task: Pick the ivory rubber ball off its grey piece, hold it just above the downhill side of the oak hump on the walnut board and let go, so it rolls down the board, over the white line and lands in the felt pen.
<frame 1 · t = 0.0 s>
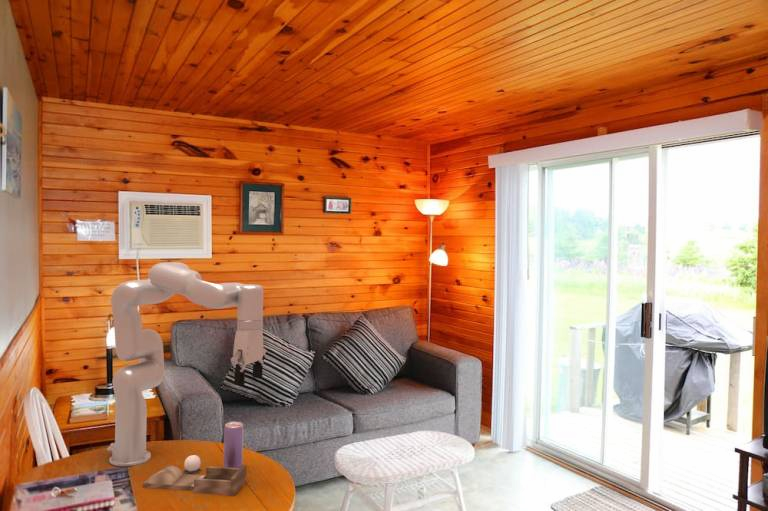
hand: (248, 381, 174), 31 cm above the table, tool pointing down, fingers open, 9 cm apart
grey piece: (192, 471, 182), on the table
ball: (192, 471, 182), on the table, touching grey piece
beverage can: (232, 471, 183), on the table
lane: (194, 485, 172), on the table
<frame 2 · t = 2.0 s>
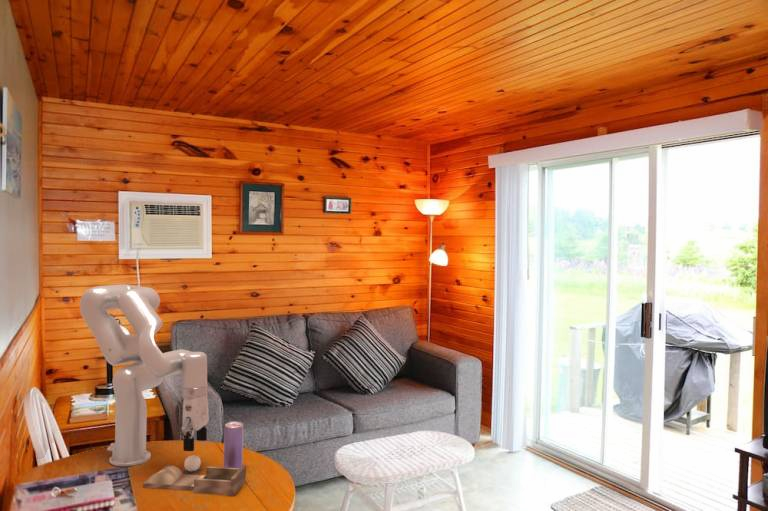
hand: (195, 445, 181), 9 cm above the table, tool pointing down, fingers open, 9 cm apart
nothing on the table moved.
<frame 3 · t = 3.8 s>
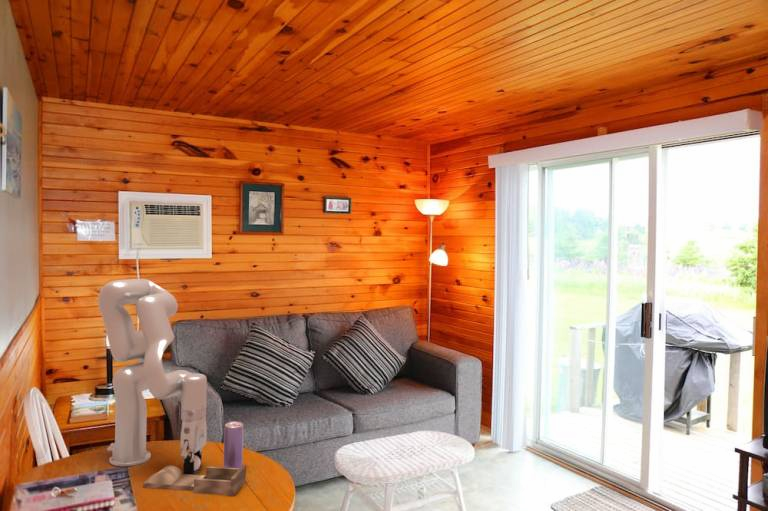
hand: (192, 469, 182), 1 cm above the table, tool pointing down, fingers closed on ball, grey piece, 5 cm apart
ball: (192, 471, 182), on the table, touching gripper
everything else where it was.
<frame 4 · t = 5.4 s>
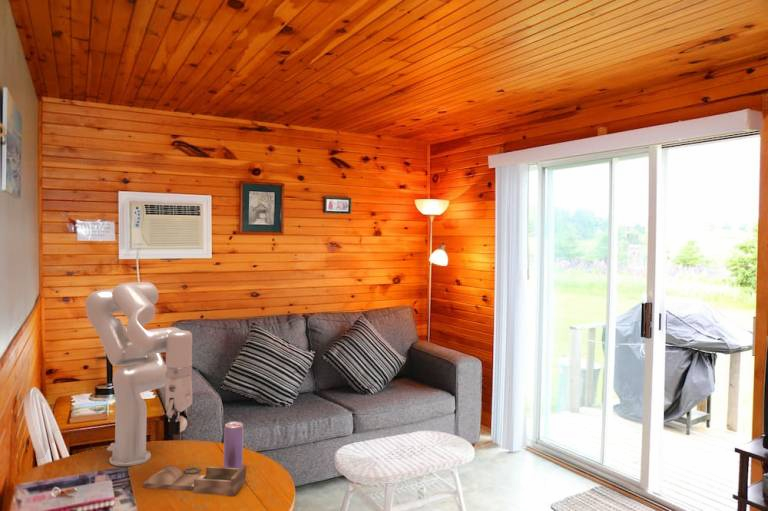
hand: (178, 430, 174), 16 cm above the table, tool pointing down, fingers closed on ball, 4 cm apart
ball: (178, 432, 174), point 15 cm above the table, touching gripper
everything else where it was.
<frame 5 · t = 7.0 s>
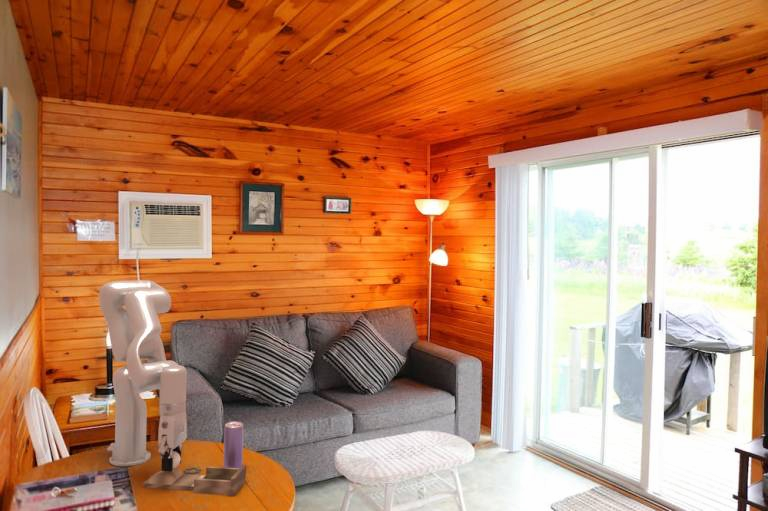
hand: (171, 466, 172), 5 cm above the table, tool pointing down, fingers closed on ball, 4 cm apart
ball: (171, 468, 172), point 5 cm above the table, touching gripper
everything else where it was.
when the fingers open (5 cm above the table, at t = 7.5 s): ball drops 3 cm and tips over, resting on lane.
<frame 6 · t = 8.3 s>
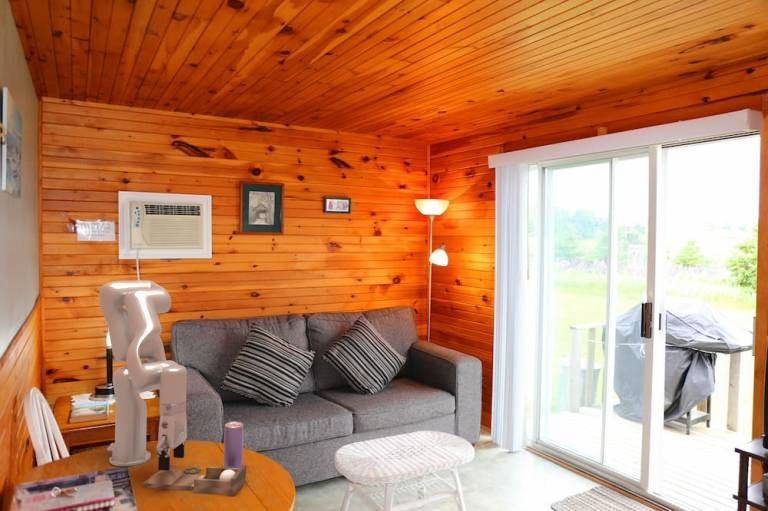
hand: (171, 463, 172), 6 cm above the table, tool pointing down, fingers open, 9 cm apart
ball: (220, 480, 171), point 2 cm above the table, tilted 69°, touching lane
everything else where it was.
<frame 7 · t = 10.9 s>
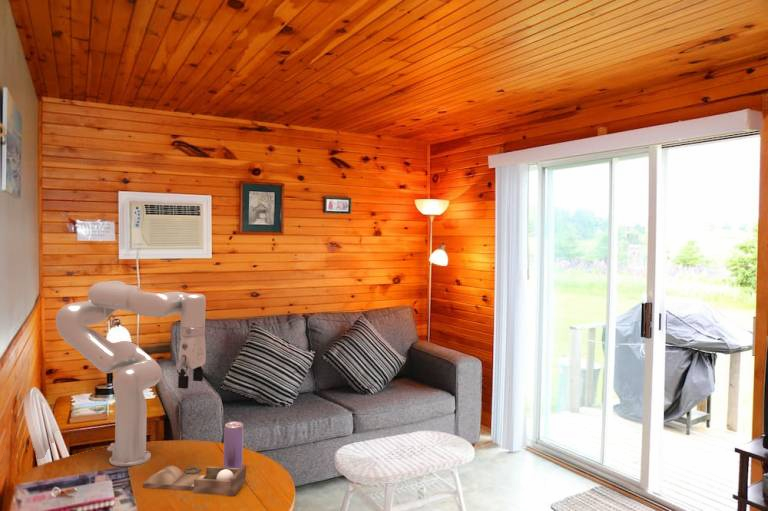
hand: (190, 384, 185), 27 cm above the table, tool pointing down, fingers open, 9 cm apart
ball: (219, 483, 171), point 1 cm above the table, tilted 48°, touching lane
everything else where it was.
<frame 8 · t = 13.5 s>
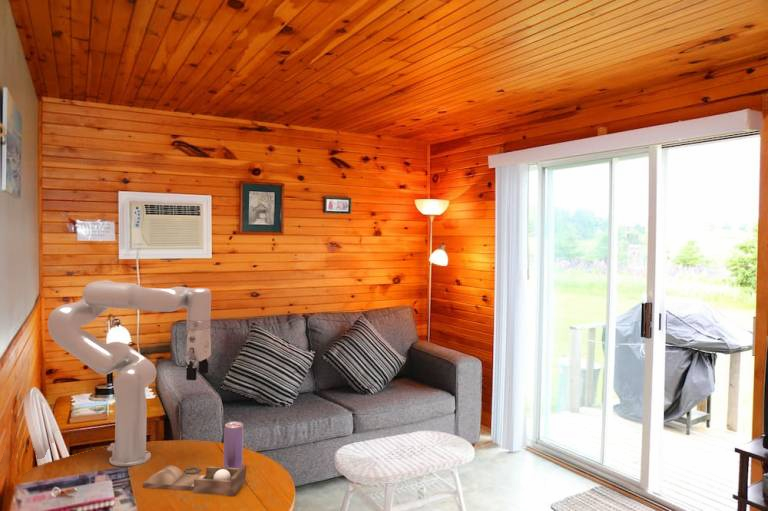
hand: (197, 376, 190), 28 cm above the table, tool pointing down, fingers open, 9 cm apart
ball: (218, 485, 171), point 1 cm above the table, tilted 26°, touching lane
everything else where it was.
at the end: ball inside the target area (0.4 cm from its centre), point 0.5 cm above the table; ball point 0.5 cm above the table; the gripper is holding nothing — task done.
